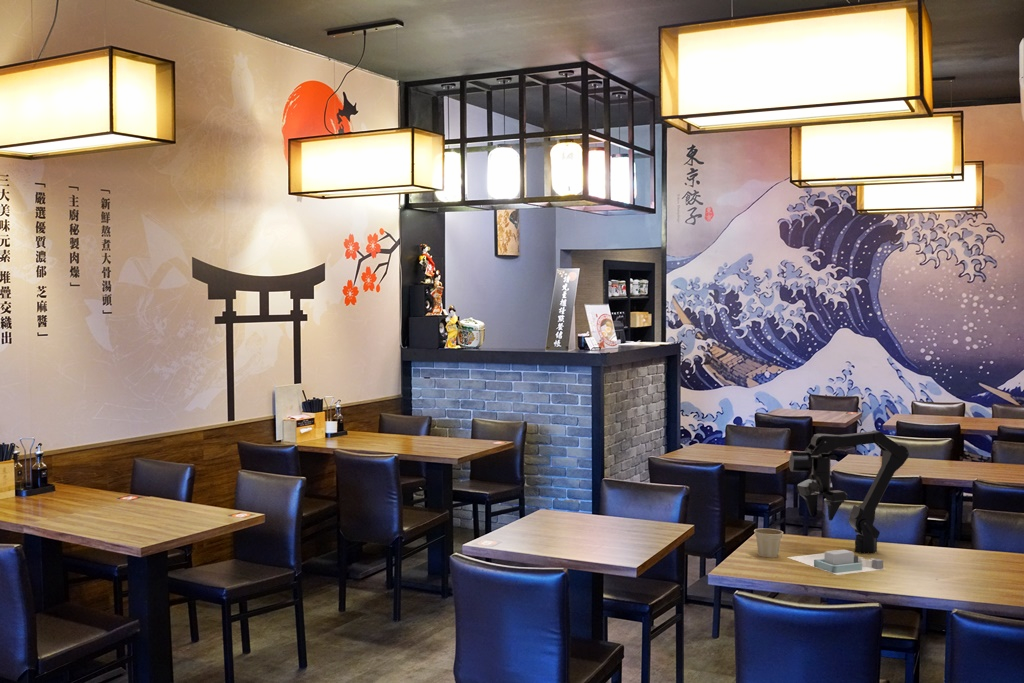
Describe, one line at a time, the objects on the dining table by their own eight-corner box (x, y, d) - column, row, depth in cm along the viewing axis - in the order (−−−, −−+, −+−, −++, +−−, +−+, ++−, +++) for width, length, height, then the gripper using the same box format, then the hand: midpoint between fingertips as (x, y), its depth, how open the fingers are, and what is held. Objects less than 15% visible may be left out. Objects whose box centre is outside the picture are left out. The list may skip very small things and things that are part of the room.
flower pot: (780, 554, 312) (780, 528, 312) (785, 561, 302) (785, 534, 302) (751, 553, 313) (751, 527, 313) (756, 560, 303) (756, 534, 303)
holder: (814, 566, 293) (814, 559, 293) (841, 563, 297) (841, 556, 297) (834, 573, 285) (834, 566, 285) (862, 569, 289) (862, 563, 289)
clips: (866, 563, 297) (866, 556, 297) (878, 567, 292) (878, 560, 292) (855, 564, 295) (855, 557, 295) (866, 568, 290) (866, 561, 290)
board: (832, 554, 312) (832, 552, 312) (885, 571, 290) (885, 569, 290) (786, 559, 304) (786, 557, 304) (837, 577, 283) (837, 574, 283)
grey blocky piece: (868, 563, 296) (868, 555, 296) (883, 568, 290) (883, 560, 290) (856, 565, 294) (856, 557, 294) (871, 570, 288) (871, 561, 288)
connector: (824, 567, 291) (824, 551, 291) (851, 564, 295) (851, 548, 295) (833, 570, 288) (833, 554, 288) (860, 567, 292) (860, 551, 292)
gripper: (783, 469, 319) (783, 514, 319) (821, 477, 301) (820, 525, 302) (810, 467, 323) (809, 512, 323) (848, 475, 306) (848, 522, 306)
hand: (821, 517), depth 313 cm, fingers open, 9 cm apart
